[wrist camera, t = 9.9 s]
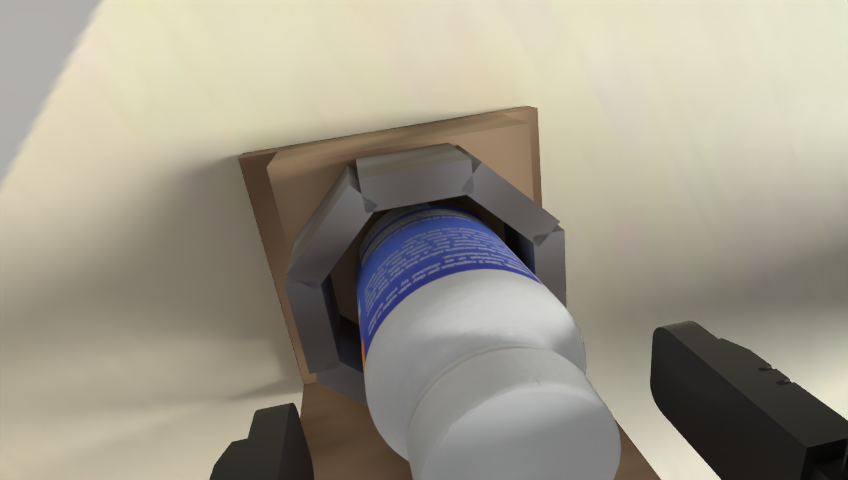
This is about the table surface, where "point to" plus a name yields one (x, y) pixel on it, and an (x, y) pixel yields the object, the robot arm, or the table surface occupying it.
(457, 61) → the table surface
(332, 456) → the bracket
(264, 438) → the robot arm
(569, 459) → the pill bottle
